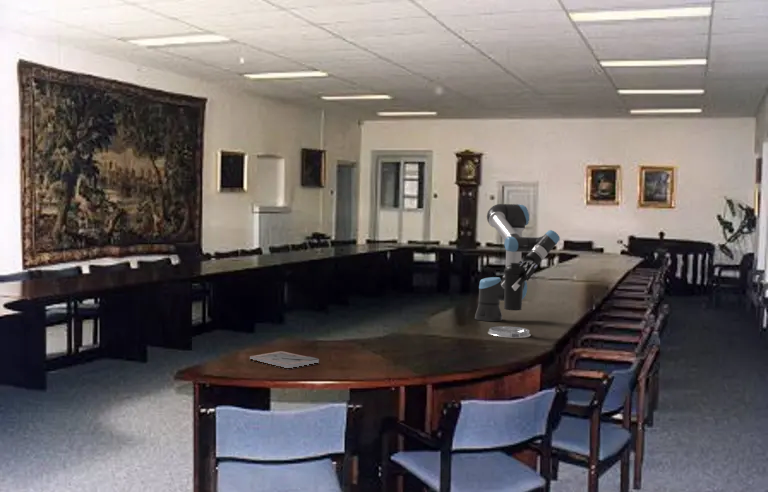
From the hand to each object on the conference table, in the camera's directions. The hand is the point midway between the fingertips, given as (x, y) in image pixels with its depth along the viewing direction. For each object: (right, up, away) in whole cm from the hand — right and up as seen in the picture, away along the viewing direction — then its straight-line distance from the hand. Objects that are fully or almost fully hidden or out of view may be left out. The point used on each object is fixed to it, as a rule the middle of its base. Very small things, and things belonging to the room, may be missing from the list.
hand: (508, 287), depth 391 cm
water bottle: (+3, -11, +2) cm, 11 cm away
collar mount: (+1, -23, +2) cm, 23 cm away
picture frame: (-100, -26, -82) cm, 132 cm away
